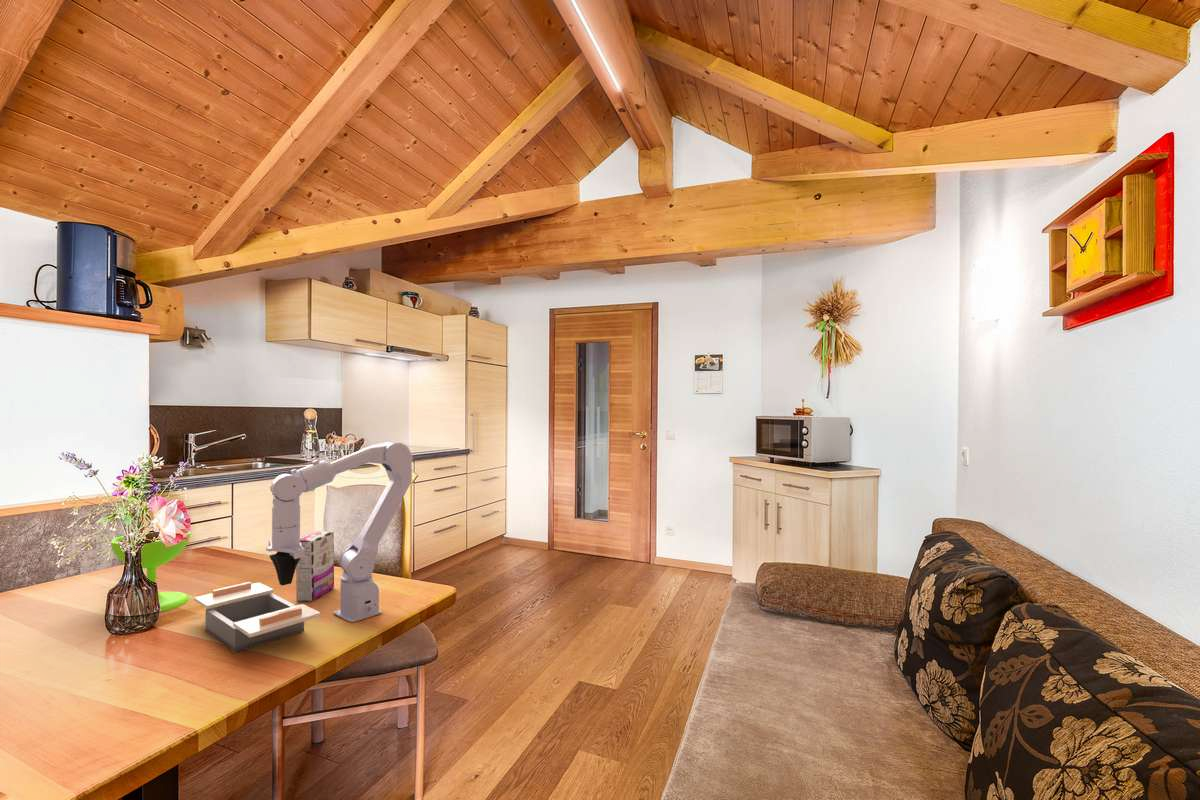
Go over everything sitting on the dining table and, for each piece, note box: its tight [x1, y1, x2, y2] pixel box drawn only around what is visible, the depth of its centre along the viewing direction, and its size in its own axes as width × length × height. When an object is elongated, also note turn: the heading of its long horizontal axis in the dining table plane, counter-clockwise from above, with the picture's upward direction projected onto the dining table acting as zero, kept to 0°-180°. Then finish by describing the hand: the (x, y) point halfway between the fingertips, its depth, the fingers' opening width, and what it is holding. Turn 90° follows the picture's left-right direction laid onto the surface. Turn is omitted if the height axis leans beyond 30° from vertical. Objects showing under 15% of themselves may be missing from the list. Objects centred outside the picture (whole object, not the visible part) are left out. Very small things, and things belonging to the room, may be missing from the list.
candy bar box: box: [295, 530, 335, 602], centre depth 149 cm, size 11×5×16 cm, turn 179°
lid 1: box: [193, 581, 274, 610], centre depth 132 cm, size 9×14×2 cm, turn 142°
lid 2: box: [233, 603, 322, 637], centre depth 117 cm, size 9×14×2 cm, turn 142°
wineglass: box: [110, 530, 191, 613], centre depth 141 cm, size 16×16×18 cm
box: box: [204, 592, 305, 654], centre depth 125 cm, size 18×14×5 cm
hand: (285, 584), depth 126 cm, fingers closed
